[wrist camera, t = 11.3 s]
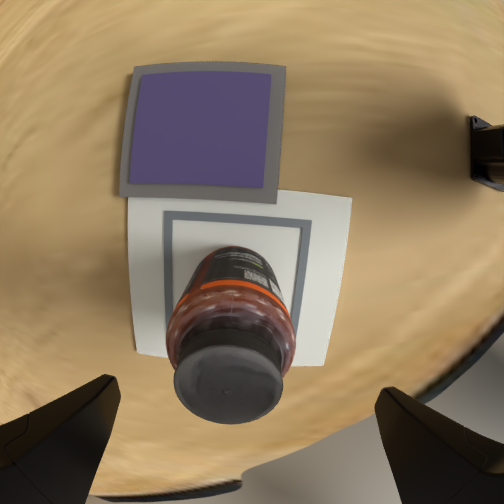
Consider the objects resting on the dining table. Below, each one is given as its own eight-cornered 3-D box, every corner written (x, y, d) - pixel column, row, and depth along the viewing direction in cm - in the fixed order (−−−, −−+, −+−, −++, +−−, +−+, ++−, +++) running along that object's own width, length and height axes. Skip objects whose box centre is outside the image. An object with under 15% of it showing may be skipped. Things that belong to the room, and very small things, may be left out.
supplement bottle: (201, 323, 20) (168, 438, 9) (188, 248, 19) (122, 323, 8) (279, 317, 20) (307, 432, 9) (273, 239, 19) (309, 310, 8)
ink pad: (284, 71, 17) (286, 64, 15) (275, 203, 19) (277, 204, 18) (138, 71, 16) (132, 64, 15) (124, 196, 18) (116, 197, 17)
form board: (350, 197, 19) (353, 198, 18) (322, 362, 22) (323, 366, 22) (131, 183, 18) (128, 183, 18) (138, 350, 21) (136, 354, 21)
